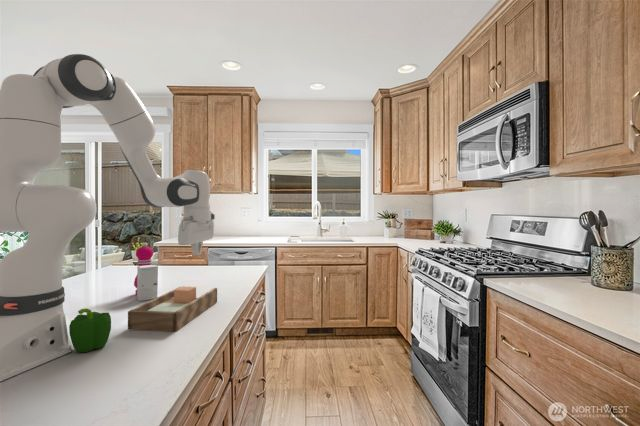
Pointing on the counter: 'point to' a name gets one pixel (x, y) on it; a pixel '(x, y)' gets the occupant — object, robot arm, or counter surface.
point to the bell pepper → (90, 330)
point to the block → (184, 294)
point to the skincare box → (147, 282)
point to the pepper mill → (143, 258)
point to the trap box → (169, 312)
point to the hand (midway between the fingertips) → (196, 254)
